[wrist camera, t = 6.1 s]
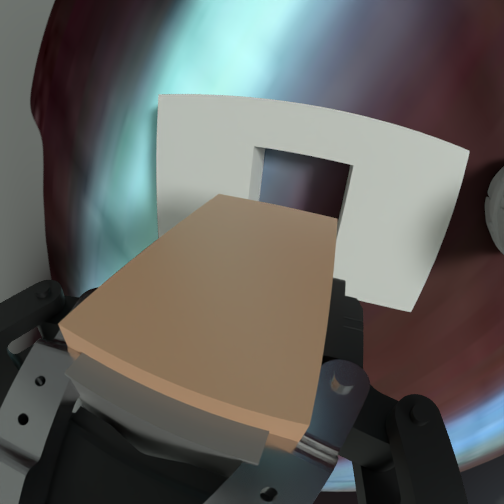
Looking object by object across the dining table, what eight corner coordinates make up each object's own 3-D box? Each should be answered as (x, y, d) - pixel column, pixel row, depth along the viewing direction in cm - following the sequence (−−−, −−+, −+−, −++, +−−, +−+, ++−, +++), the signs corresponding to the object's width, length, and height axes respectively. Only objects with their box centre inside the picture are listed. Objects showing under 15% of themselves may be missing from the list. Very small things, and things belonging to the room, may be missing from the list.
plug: (218, 193, 11) (37, 343, 4) (337, 218, 10) (301, 461, 3) (214, 289, 13) (105, 444, 6) (311, 315, 12) (257, 508, 5)
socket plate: (180, 94, 19) (158, 94, 17) (452, 144, 15) (469, 151, 12) (177, 233, 25) (159, 249, 23) (405, 289, 21) (410, 312, 19)
